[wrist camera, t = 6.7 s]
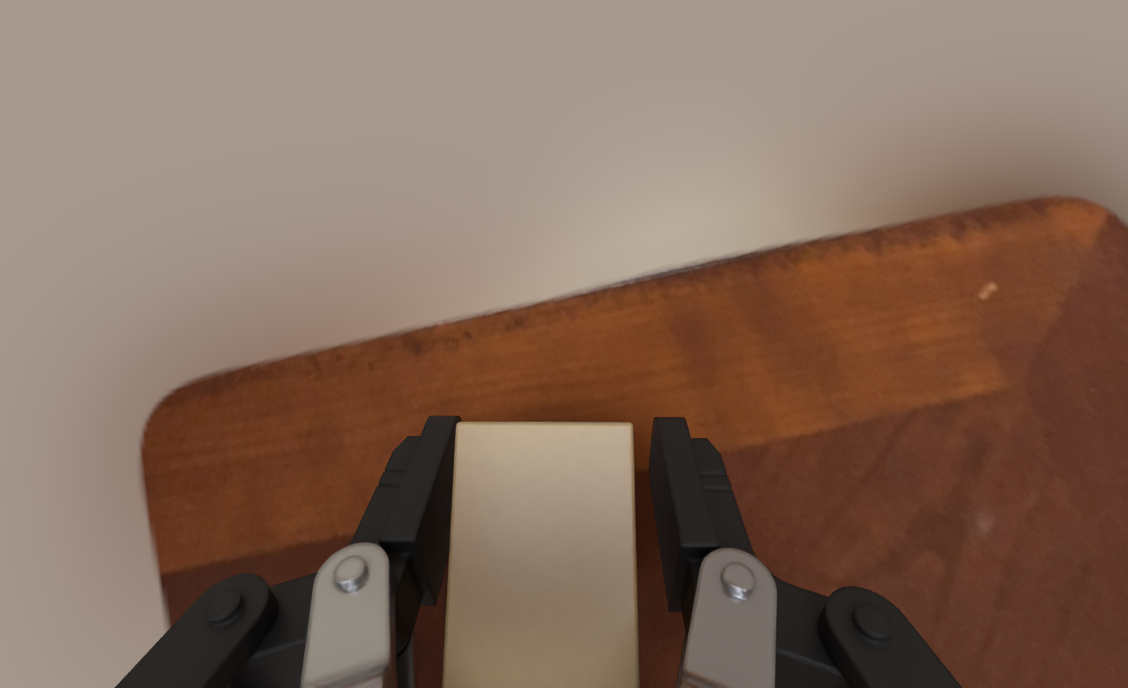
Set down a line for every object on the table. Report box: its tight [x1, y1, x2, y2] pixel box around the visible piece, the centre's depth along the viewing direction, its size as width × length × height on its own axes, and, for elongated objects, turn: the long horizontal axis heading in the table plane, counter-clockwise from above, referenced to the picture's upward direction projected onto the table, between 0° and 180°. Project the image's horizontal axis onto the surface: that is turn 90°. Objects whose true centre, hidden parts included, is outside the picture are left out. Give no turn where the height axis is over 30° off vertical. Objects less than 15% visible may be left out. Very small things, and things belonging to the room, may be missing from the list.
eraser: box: [442, 422, 640, 688], centre depth 12 cm, size 5×4×8 cm
